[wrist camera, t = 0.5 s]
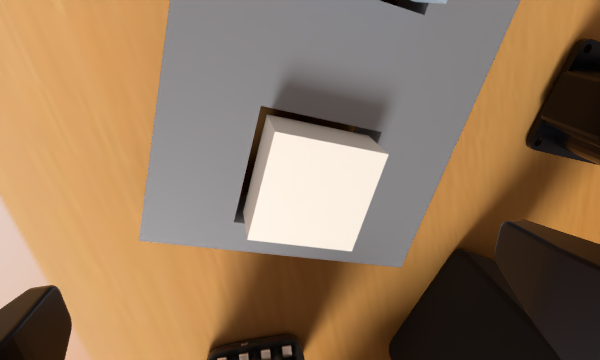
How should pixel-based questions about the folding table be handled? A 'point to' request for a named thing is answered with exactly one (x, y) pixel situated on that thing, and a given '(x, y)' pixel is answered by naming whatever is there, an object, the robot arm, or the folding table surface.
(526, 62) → the folding table surface
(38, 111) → the folding table surface
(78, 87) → the folding table surface
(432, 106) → the key panel
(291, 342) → the battery charger
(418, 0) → the slate key
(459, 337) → the electronic device
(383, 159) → the ivory key
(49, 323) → the robot arm
